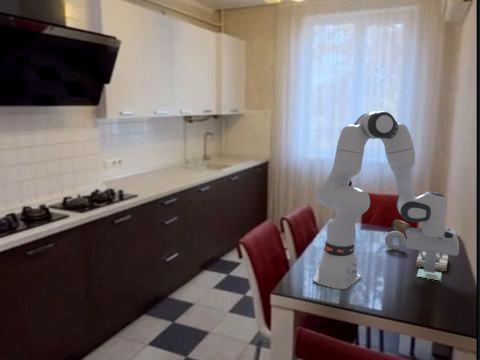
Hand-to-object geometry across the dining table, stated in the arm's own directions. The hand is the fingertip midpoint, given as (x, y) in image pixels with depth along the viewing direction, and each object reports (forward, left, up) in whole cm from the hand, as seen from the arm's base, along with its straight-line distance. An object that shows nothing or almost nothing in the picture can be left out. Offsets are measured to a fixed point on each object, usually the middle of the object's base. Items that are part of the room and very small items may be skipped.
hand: (430, 261), depth 165 cm
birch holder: (+16, 0, -6) cm, 17 cm away
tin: (+55, +19, -7) cm, 58 cm away
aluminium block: (0, 0, -4) cm, 4 cm away
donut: (+27, +18, -7) cm, 33 cm away
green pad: (0, 0, -6) cm, 6 cm away
